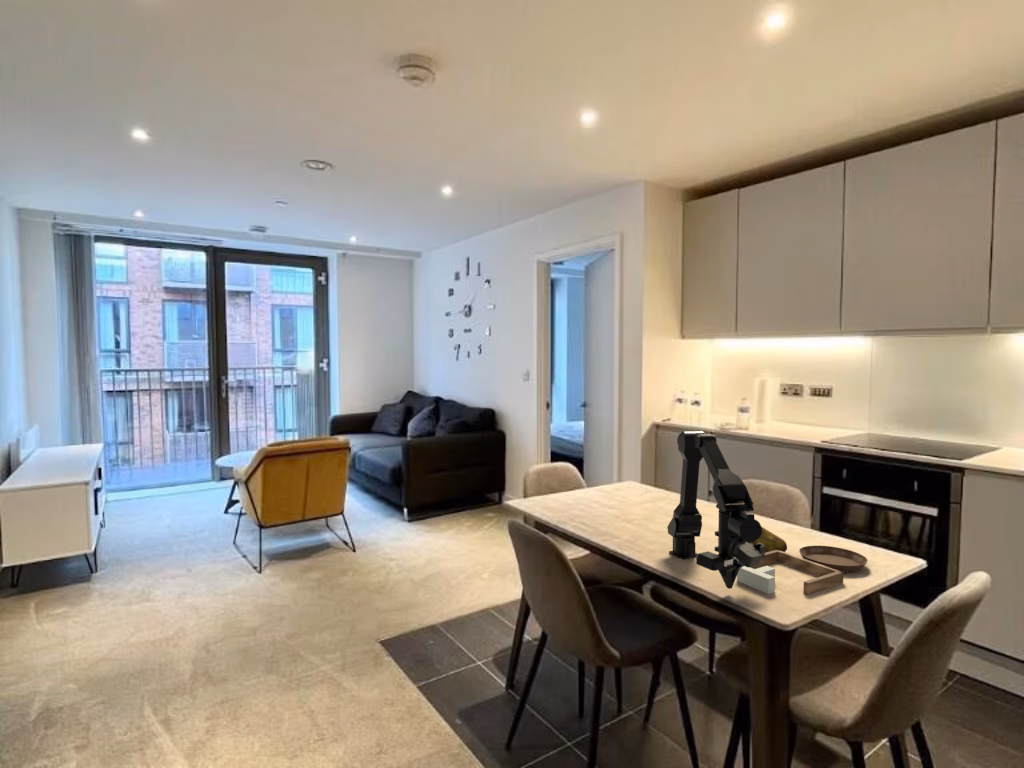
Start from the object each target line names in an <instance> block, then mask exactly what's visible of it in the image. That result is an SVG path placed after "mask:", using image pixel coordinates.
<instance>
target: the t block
mask: <svg viewBox="0 0 1024 768" xmlns="http://www.w3.org/2000/svg"><path fill="white" fill-rule="evenodd" d="M736 581H737V582H740V583H741V584H744V585H746V586H748V587H751V588H754V589H756V590H757V591H760V592H762V593H765V594H768V595H770V594H773V593H776V591H775V590H776V568H774V567H771V566H768V565H763V566H760V567H756V568H750V567H746V566H743V567H742V568H740V570H739V572H738V574H737V576H736Z"/></svg>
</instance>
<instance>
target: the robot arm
mask: <svg viewBox="0 0 1024 768" xmlns="http://www.w3.org/2000/svg"><path fill="white" fill-rule="evenodd" d="M676 442H677V449H678V452H679V453H680V455H681V458H682V468H681V469H682V470H681V479H680V480H681V482H680V496H679V503H678V505H677V506H676V507H675V509H674V510H673V514H672V518H671V520H670V522H669V523H668V525H667V526H666V527H667V534H668V535H669V536H671V537H672V550H669V551H668V553H669V554H670V555H672V556H676V557H678V558H680V559H682V560H686V559H690V558H694V557H695V565H698V566H701V567H703V568H705V569H708V570H710V571H713V572H716V571H718V572H719V575H720V576H721V578H722V580H723V582H724V585H725V587H726V588H727V589H731V590H732V589H733V586H734V584H735V581H736V580H737V574H738V572H739V570H740V568H742V567H743V566H746V567H752V566H755V565H759V563H760V560H761V559H763V558H765V546H764V545H763V544H762V543H758V544H755V545H753V544H749V543H747V542H754V541H756V540H757V539H759V537H760V536H761V534H762V527H763V526H762V525H761V523H760V522H759V521H758V520H756V519H755V513H753V512H754V511H755V509H754V502H753V499H752V498H751V495H750V493H749V490H748V488H747V486H746V484H745V483H744V482H743V480H742V478H741V477H740V476H739V475H737V474H735V473H734V472H733V471H732V470H731V469H730V467H729V464H728V463H727V461H726V458H725V457H724V455H723V453H722V450H721V448H720V447H719V445H718V444H717V438H716V435H715V434H712V433H707V434H706V433H705V432H704V431H703V430H693V431H692V430H690V431H688V430H687V431H686V430H684V431H681V433H679V434H678V436H677V439H676ZM702 459H703V460H704V462H705V464H706V466H707V468H708V471H709V473H710V476H712V479H713V485H712V491H713V496H714V498H715V501H716V502H717V504H716V505H715V508H716V509H718V528H717V529H718V530H716V531H714V536H716V537H717V541H718V542H717V544H718V545H716V546H714V551H715V552H717V553H718V554H717V553H713V552H711V551H709V550H708V551H704V552H700V553H697V552H696V538H697V537H698V538H699V537H701V532H702V528H703V522H702V519H703V516H702V514H701V513H700V511H699V509H698V507H697V501H698V500H697V499H698V489H699V488H698V487H699V476H700V475H699V474H700V464H701V461H702ZM761 526H762V527H761Z"/></svg>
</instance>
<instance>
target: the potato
mask: <svg viewBox="0 0 1024 768" xmlns="http://www.w3.org/2000/svg"><path fill="white" fill-rule="evenodd" d="M761 527H762V534H761V536H760V537H759V539H757V540H756V541H754V542H747V543H749V544H753V545H755V544H758V543H762V544H763V545H764V546H765V553H766V552H770V551H774V550H780V551H783V552H785V553H786V551H787V550H788V544H787V542H786V541H785V540H784V539H783V538H781V537H779V536H778V535H776V534H775V533H773V532H771V531H769V530H768V529H766V528H765V527H763V526H762V525H761Z"/></svg>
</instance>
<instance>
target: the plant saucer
mask: <svg viewBox="0 0 1024 768" xmlns="http://www.w3.org/2000/svg"><path fill="white" fill-rule="evenodd" d="M798 551H799V553H800V556H801V558H803V559H806V560H809V561H812V562H815V563H818V564H821V565H824V566H827V567H829V568H832V569H835V570H838V571H841V572H843V573H855V572H858V571H860V570H862V569H863V568H864V566H865V565H867V563H868V561H869V559H868V558H867V556H864V555H862V554H861V553H858V552H856V551H853V550H850V549H847V548H844V547H843V548H841V547H836V546H830V545H807V546H806V545H805V546H802V547H801V548H799V550H798Z"/></svg>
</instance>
